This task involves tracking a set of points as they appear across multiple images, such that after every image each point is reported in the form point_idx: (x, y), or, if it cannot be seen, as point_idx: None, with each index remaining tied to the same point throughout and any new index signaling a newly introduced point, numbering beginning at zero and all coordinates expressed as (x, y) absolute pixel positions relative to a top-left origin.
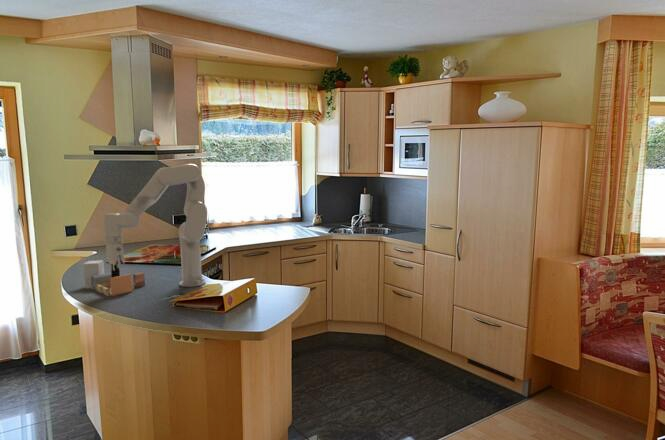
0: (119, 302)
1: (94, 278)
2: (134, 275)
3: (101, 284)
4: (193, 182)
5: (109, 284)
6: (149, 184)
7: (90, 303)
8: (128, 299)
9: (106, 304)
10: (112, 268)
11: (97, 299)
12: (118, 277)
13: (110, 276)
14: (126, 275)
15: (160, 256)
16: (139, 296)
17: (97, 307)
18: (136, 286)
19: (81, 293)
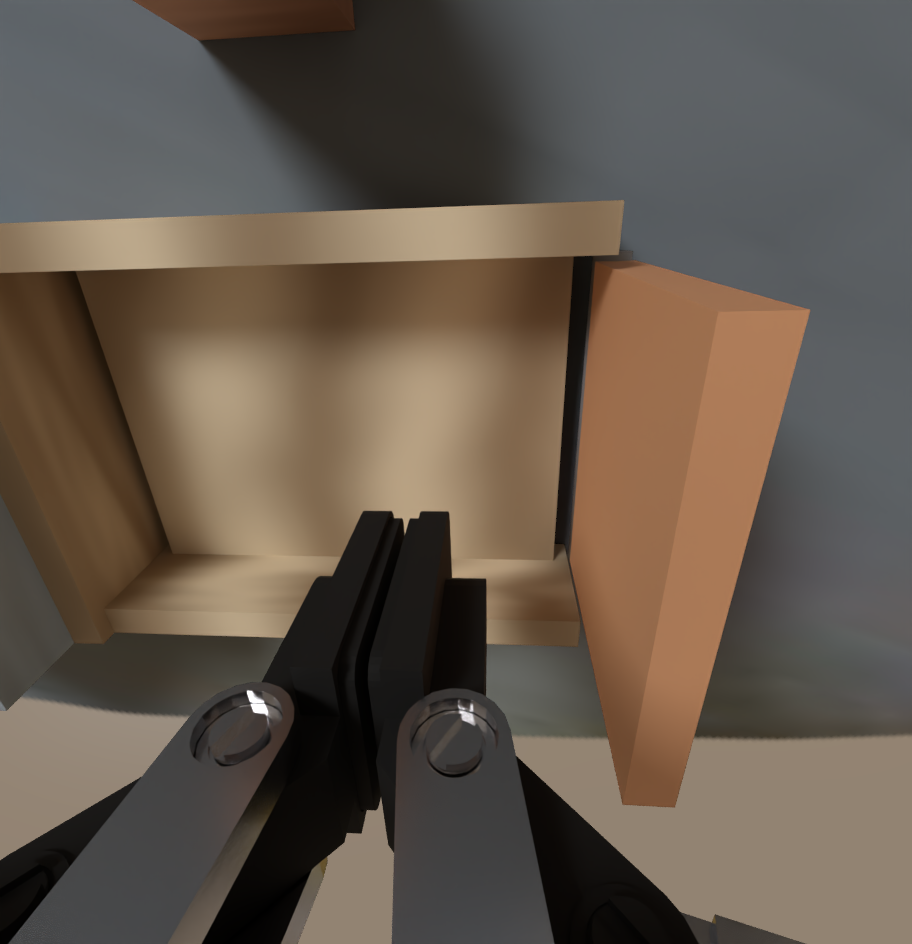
0: (861, 555)
1: (17, 699)
2: None
3: (99, 554)
4: None
5: (73, 436)
6: None
7: (597, 722)
8: (855, 431)
9: (785, 659)
10: (315, 881)
11: (504, 645)
12: (697, 664)
13: None
14: (759, 482)
15: None
16: (882, 239)
17: (797, 733)
18: (310, 13)
19: (137, 655)
